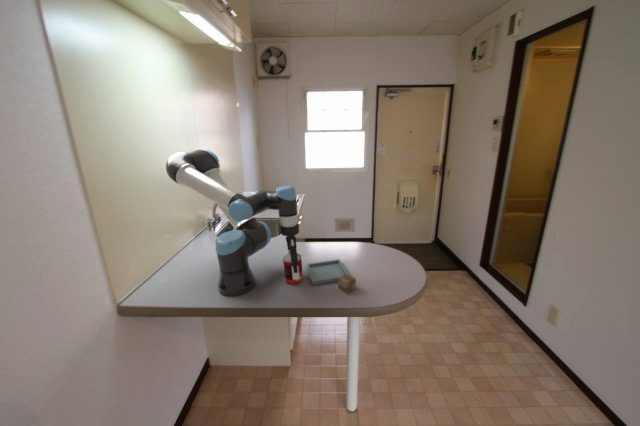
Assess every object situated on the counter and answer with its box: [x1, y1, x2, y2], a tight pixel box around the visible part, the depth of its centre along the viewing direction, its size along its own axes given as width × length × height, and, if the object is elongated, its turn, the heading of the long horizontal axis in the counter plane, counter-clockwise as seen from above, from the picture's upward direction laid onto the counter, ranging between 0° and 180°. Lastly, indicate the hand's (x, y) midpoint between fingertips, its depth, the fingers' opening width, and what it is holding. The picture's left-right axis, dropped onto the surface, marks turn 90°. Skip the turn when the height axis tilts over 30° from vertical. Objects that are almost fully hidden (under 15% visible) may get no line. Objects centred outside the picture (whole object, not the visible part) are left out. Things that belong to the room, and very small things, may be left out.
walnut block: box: [337, 273, 357, 295], centre depth 110 cm, size 5×5×5 cm
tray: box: [305, 258, 349, 287], centre depth 123 cm, size 16×16×2 cm
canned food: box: [282, 252, 304, 285], centre depth 118 cm, size 8×8×11 cm
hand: (294, 270), depth 118 cm, fingers open, 13 cm apart
